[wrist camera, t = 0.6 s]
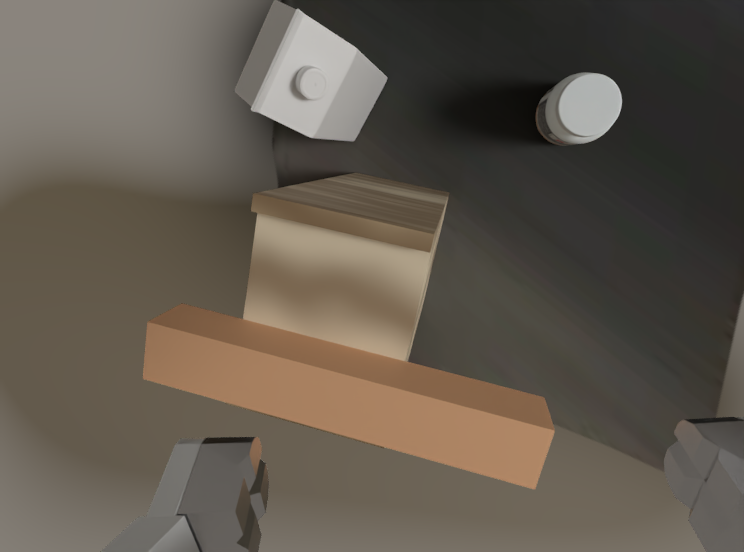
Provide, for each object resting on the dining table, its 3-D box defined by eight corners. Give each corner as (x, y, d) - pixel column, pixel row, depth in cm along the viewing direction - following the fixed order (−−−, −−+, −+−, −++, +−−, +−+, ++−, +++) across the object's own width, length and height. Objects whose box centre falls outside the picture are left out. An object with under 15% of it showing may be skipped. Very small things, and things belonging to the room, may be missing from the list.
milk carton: (296, 107, 53) (207, 84, 34) (328, 41, 50) (251, -20, 32) (354, 142, 52) (295, 137, 34) (388, 78, 50) (345, 37, 32)
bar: (181, 303, 31) (147, 321, 27) (544, 397, 28) (555, 430, 25) (176, 354, 32) (142, 378, 28) (526, 450, 29) (535, 489, 26)
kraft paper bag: (356, 172, 53) (253, 193, 27) (449, 192, 52) (434, 234, 26) (334, 288, 57) (225, 403, 31) (421, 309, 55) (383, 448, 30)
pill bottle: (582, 152, 49) (611, 153, 39) (525, 135, 49) (539, 131, 40) (607, 93, 47) (643, 78, 38) (547, 75, 48) (568, 56, 38)
